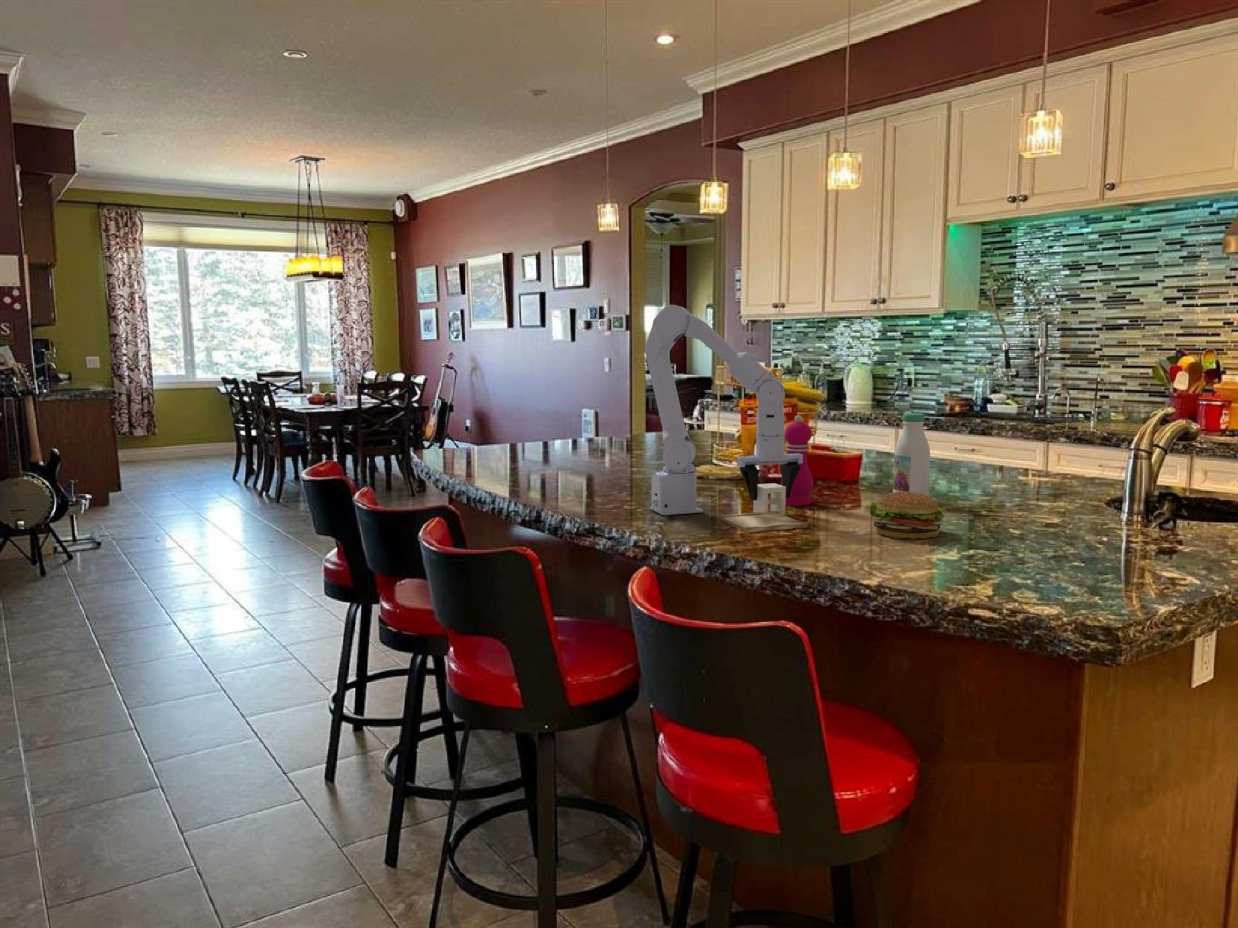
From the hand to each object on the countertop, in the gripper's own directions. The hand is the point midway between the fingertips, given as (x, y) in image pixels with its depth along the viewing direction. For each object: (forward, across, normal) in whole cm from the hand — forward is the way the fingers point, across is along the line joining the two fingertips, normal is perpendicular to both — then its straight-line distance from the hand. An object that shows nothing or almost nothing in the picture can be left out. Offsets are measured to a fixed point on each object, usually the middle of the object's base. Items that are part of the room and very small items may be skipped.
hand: (769, 498), depth 189 cm
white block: (+3, 0, 0) cm, 3 cm away
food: (+4, +16, -26) cm, 31 cm away
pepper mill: (+3, +11, +8) cm, 14 cm away
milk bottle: (+4, +36, +1) cm, 36 cm away
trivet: (+3, -6, -9) cm, 11 cm away
